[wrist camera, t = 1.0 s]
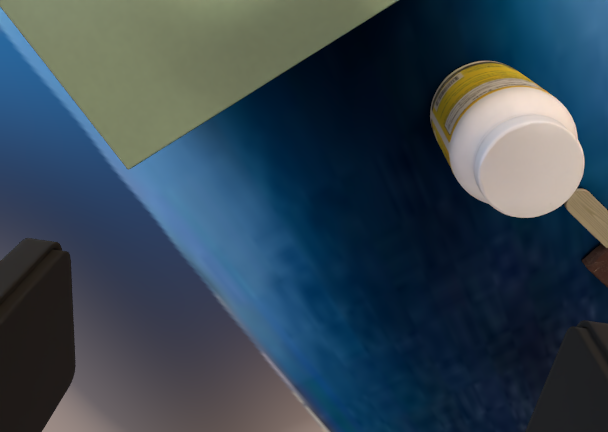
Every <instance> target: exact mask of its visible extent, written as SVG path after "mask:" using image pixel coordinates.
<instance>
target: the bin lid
mask: <svg viewBox="0 0 608 432" xmlns="http://www.w3.org/2000/svg"><path fill="white" fill-rule="evenodd" d="M397 1H399V0H0V7H1V8H2V9H3V11H4V12H5V13H6V14H7V16H8V17H9V18H10V20H11V21H12V22H13V23H14V25H15V26H16V27H17V28H18V30H19V31H20V32H21V34H22V35H23V36H24V37H25V39H26V40H27V41H28V43H29V44H30V45H31V46H32V48H33V49H34V50H35V51H36V53H37V54H38V55H39V57H40V58H41V59H42V60H43V62H44V63H45V64H46V66H47V67H48V68H49V69H50V71H51V72H52V73H53V74H54V76H55V77H56V78H57V80H58V81H59V82H60V83H61V85H62V86H63V87H64V89H65V90H66V91H67V92H68V94H69V95H70V96H71V97H72V99H73V100H74V101H75V103H76V104H77V105H78V106H79V108H80V109H81V110H82V112H83V113H84V114H85V115H86V117H87V118H88V119H89V120H90V122H91V123H92V124H93V126H94V127H95V128H96V129H97V131H98V132H99V133H100V135H101V136H102V137H103V138H104V140H105V141H106V142H107V144H108V145H109V146H110V147H111V149H112V150H113V151H114V152H115V154H116V155H117V156H118V158H119V159H120V160H121V161H122V163H123V164H124V165H125V167H126V168H127V169H131V168H132V167H134V166H136V165H137V164H139V163H140V162H142V161H144V160H145V159H147V158H148V157H150V156H152V155H153V154H155V153H156V152H158V151H160V150H161V149H163V148H164V147H166V146H168V145H169V144H171V143H172V142H174V141H176V140H177V139H179V138H180V137H182V136H183V135H185V134H187V133H188V132H190V131H191V130H193V129H195V128H196V127H198V126H199V125H201V124H203V123H204V122H206V121H207V120H209V119H211V118H212V117H214V116H215V115H217V114H219V113H220V112H222V111H223V110H225V109H227V108H228V107H230V106H231V105H233V104H235V103H236V102H238V101H239V100H241V99H242V98H244V97H246V96H247V95H249V94H250V93H252V92H254V91H255V90H257V89H258V88H260V87H262V86H263V85H265V84H266V83H268V82H270V81H271V80H273V79H274V78H276V77H278V76H279V75H281V74H282V73H284V72H286V71H287V70H289V69H290V68H292V67H294V66H295V65H297V64H298V63H300V62H301V61H303V60H305V59H306V58H308V57H309V56H311V55H313V54H314V53H316V52H317V51H319V50H321V49H322V48H324V47H325V46H327V45H329V44H330V43H332V42H333V41H335V40H337V39H338V38H340V37H341V36H343V35H345V34H346V33H348V32H349V31H351V30H352V29H354V28H356V27H357V26H359V25H360V24H362V23H364V22H365V21H367V20H368V19H370V18H372V17H373V16H375V15H376V14H378V13H380V12H381V11H383V10H384V9H386V8H388V7H389V6H391V5H392V4H394V3H396V2H397Z"/></svg>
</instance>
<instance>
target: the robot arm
mask: <svg viewBox="0 0 608 432" xmlns="http://www.w3.org/2000/svg"><path fill="white" fill-rule="evenodd" d="M72 302H73V301H72V279H71V260H70V254H69V253H68V252H66V251H62V248H61V246H60V244H59V243H58V242H52V241H45V240H38V239H32V238H25V239H24V240H22V241H21V242H20V243H19V244H18V245H17V246H16V247H15V248H14V249H13V250H12V251H11V252H9V253H8V254H7V255H6V256H5V257H4V258H3V259H2V260H1V261H0V432H42V430H43V429H44V427H45V425H46V424H47V422H48V421H49V419H50V417H51V416H52V414H53V412H54V411H55V409H56V407H57V405H58V404H59V402H60V401H61V399H62V398H63V396H64V394H65V392H66V391H67V389H68V387H69V386H70V384H71V382H72V379H73V376H74V372H75V345H74V324H73V323H74V322H73V303H72ZM526 432H608V324H605V323H599V322H592V321H585V320H584V321H581V322H580V323H579V324H578V325H577V326H576V327H570V328H569V329H568V330H567V332H566V334H565V336H564V339H563V341H562V344H561V346H560V349H559V351H558V353H557V356H556V358H555V361H554V363H553V366H552V368H551V370H550V373H549V375H548V378H547V380H546V383H545V385H544V387H543V390H542V392H541V395H540V397H539V400H538V402H537V405H536V407H535V409H534V412H533V414H532V417H531V419H530V422H529V424H528V426H527V429H526Z"/></svg>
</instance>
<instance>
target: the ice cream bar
mask: <svg viewBox="0 0 608 432" xmlns="http://www.w3.org/2000/svg"><path fill="white" fill-rule="evenodd" d="M564 204H565V207H566V209H567V210H568V211H569V212H570V213H571V214H572V215H573V216H574V217H575V218H576V219H577V220H578V221H579V222H580V223H581V224H582V225H583V226H584V227H585V228H586V229H587V230H588V231H589V232H590V233H591V234H592V235H593V236H595V237H596V238H597V239H598V240H599V241H600V242H601V243H602V244H601V245H600V246H598V247H597V248H595V249H594V250H593V251H592V252H591V253H590V254H589V255H587V256H586V257H585V258H584V259H583V260H582V262H583V263H584V265H585V266H586V267H587V269H588V270H589V271H590V272H592V273H593V274H594V275H595V276H596V277H597V278H598V279H599V280H600V281H601V282H602V283H603V284H604V285H605V286H606V287H607V288H608V210H607V209H606V208H605V207H604V206H603V205H602V204H601V203H600V202H599V201H598V200H597V199H596V198H595V197H594V196H593V195H592V194H591V193H590V192H588V191H587V190H585V189H576V191H575V192H574V193H573V195H572V196H571V197H570V198H569V199H568V200H567V201H566V202H565V203H564Z"/></svg>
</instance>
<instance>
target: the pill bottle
mask: <svg viewBox="0 0 608 432" xmlns="http://www.w3.org/2000/svg"><path fill="white" fill-rule="evenodd" d="M430 121H431V126H432V129H433V132H434V135H435V137H436V139H437V141H438V143H439V145H440V147H441V149H442V151H443V153H444V155H445V157H446V159H447V161H448V163H449V165H450V168H451V170H452V172H453V174H454V176H455V177H456V179H457V181H458V182H459V183H460V185H461V186H462V187H463V188H464V189H465V190H466V191H467V192H468V193H469V194H470V195H472V196H473V197H475V198H476V199H478V200H480V201H482V202H485V203H488V204H490V205H491V206H492V207H493V208H495V209H496V210H498V211H499V212H501V213H503V214H506V215H509V216H513V217H519V218H530V217H537V216H541V215H544V214H547V213H549V212H551V211H553V210H555V209H557V208H558V207H560V206H561V205H562V204H564V203H565V202H566V201H567V200H568V199H569V198H570V197H571V196H572V195H573V193H574V192H575V191H576V189H577V187H578V185H579V183H580V181H581V179H582V176H583V172H584V154H583V150H582V147H581V145H580V143H579V141H578V136H577V130H576V126H575V123H574V121H573V118H572V116H571V115H570V113H569V112H568V110H567V109H566V108H565V106H564V105H563V104H562V103H561V102H560V101H559V100H558V99H556V98H555V97H554V96H552V95H551V94H550V93H548V92H547V91H545V90H544V89H542V88H541V87H540V86H538V85H537V84H536V83H534V82H533V81H531V80H530V79H528V78H527V77H525V76H524V75H523V74H521V73H520V72H519V71H517V70H515V69H514V68H512V67H510V66H508V65H506V64H503V63H499V62H495V61H478V62H473V63H469V64H467V65H464V66H462V67H460V68H458V69H456V70H455V71H453V72H452V73H451V74H450V75H449V76H447V77H446V78H445V80H444V81H443V82H442V83H441V84H440V86H439V87H438V89H437V91H436V93H435V95H434V97H433V100H432V104H431V110H430Z"/></svg>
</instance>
